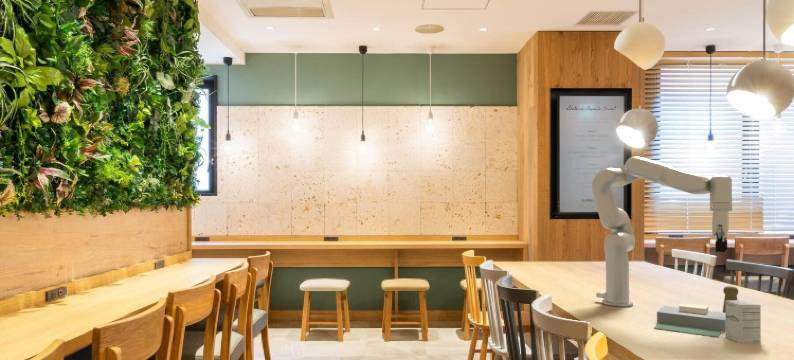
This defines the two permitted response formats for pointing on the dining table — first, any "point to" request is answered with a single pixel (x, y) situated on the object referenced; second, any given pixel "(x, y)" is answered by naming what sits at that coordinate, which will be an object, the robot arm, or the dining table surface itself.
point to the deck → (692, 318)
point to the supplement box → (743, 321)
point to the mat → (688, 329)
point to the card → (693, 308)
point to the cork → (729, 294)
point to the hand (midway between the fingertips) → (721, 251)
